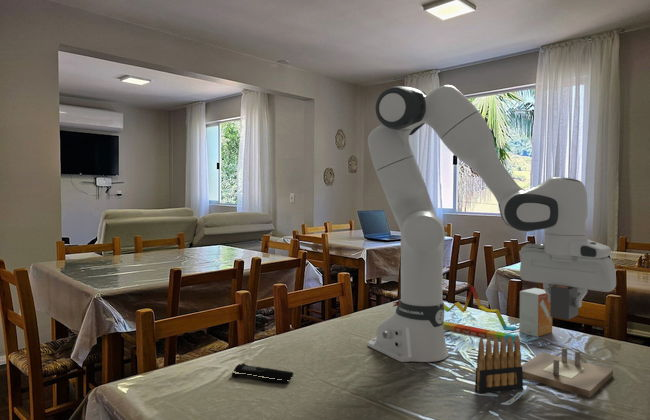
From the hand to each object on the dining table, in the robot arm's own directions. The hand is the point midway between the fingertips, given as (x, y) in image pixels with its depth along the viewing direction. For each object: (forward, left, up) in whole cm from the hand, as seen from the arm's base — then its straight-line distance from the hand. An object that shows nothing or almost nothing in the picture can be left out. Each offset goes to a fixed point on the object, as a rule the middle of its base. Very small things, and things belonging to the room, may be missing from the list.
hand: (564, 304), depth 104 cm
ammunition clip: (-7, -18, -17) cm, 26 cm away
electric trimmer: (-48, -53, -18) cm, 74 cm away
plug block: (0, 0, -3) cm, 3 cm away
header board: (0, 0, -17) cm, 17 cm away
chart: (-34, +13, -18) cm, 40 cm away
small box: (-18, +28, -17) cm, 37 cm away
